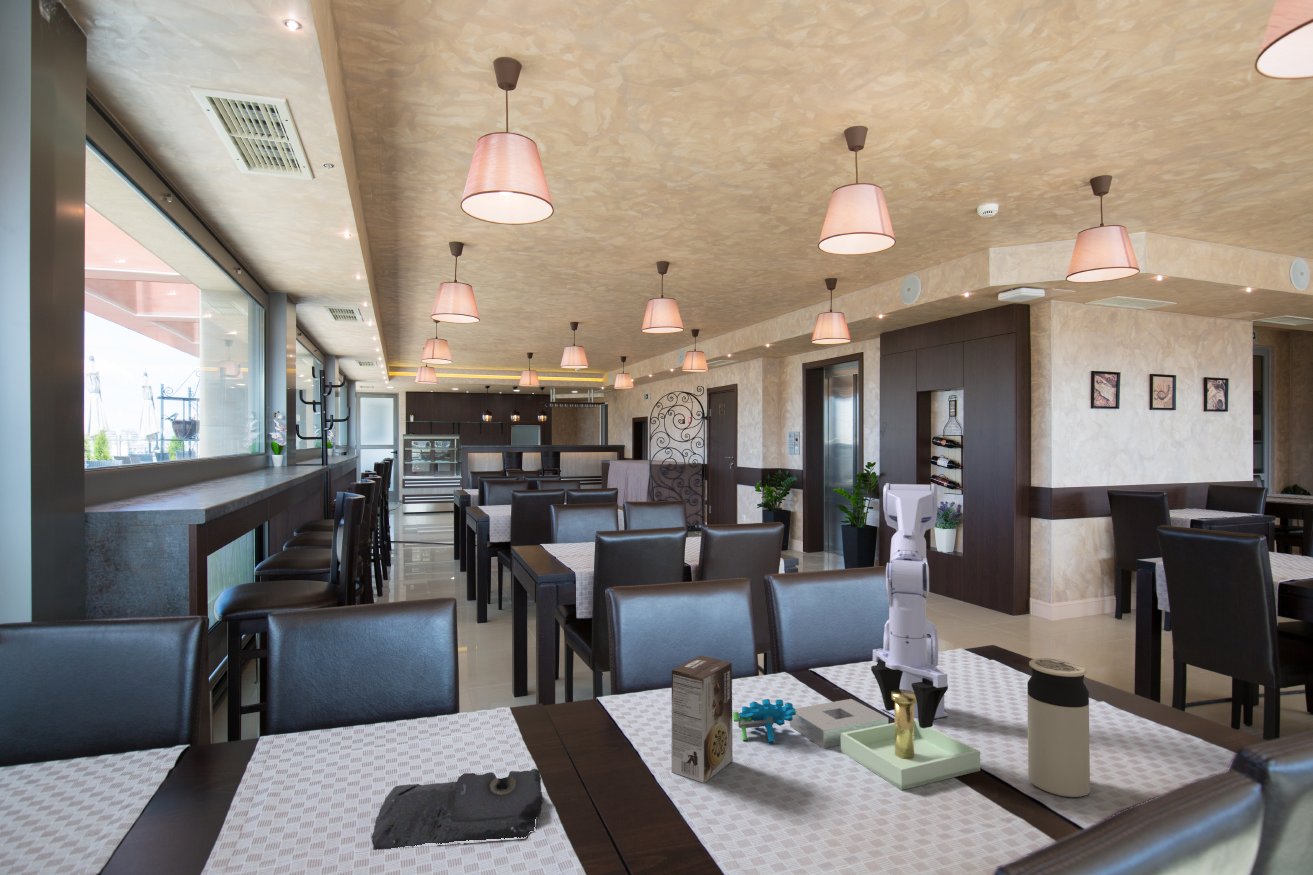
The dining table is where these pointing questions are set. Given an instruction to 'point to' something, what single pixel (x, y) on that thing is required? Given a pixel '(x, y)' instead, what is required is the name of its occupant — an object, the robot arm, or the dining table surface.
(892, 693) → the pin
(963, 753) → the parts tray
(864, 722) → the pin bracket
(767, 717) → the gear
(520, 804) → the dark slate chunk
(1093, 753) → the dining table surface
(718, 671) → the coffee box
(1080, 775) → the travel mug
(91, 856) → the dining table surface
